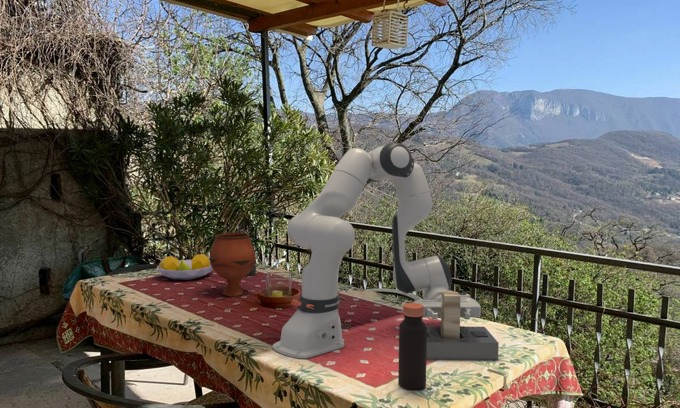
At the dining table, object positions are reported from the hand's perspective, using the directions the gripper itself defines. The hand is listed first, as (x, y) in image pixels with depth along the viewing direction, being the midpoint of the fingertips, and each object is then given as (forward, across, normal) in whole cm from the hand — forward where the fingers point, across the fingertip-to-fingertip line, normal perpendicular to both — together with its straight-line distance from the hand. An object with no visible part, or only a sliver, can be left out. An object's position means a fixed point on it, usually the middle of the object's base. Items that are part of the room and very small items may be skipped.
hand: (451, 316), depth 145 cm
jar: (-100, -79, +11) cm, 128 cm away
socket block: (-1, 0, +10) cm, 11 cm away
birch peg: (-1, 0, +10) cm, 10 cm away
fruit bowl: (-93, -107, +11) cm, 142 cm away
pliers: (-62, -34, +11) cm, 72 cm away
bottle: (+22, -14, +11) cm, 28 cm away
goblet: (-64, -78, +11) cm, 101 cm away
